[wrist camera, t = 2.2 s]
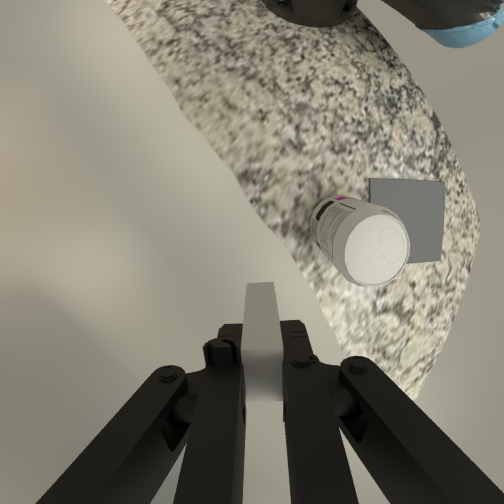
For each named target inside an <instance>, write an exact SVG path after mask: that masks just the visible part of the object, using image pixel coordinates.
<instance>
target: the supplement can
mask: <svg viewBox="0 0 504 504" xmlns="http://www.w3.org/2000/svg"><path fill="white" fill-rule="evenodd" d="M310 232H311V234H312V237H313V239H314V241H315V243H316V244H317V245H318V246H319V247H320V249H321V250H322V251H323V252H324V253H325V255H326V256H327V257H328V258H329V260H330V261H331V262H332V263H333V264H334V266H335V267H336V268H337V269H338V271H339V272H340V273H341V274H342V275H343V276H344V277H345V278H346V280H347V281H349V282H351V283H353V284H355V285H357V286H364V287H378V286H381V285H385V284H388V283H389V282H391V281H392V280H393V279H395V278H396V277H398V275H399V274H400V273H401V271H402V270H403V269H404V267H405V265H406V262H407V260H408V257H409V250H410V241H409V238H408V234H407V231H406V229H405V226H404V224H403V222H402V221H401V220H400V218H399V217H398V215H397V214H395V213H394V212H392V211H391V210H389V209H387V208H386V207H382V206H379V205H375V204H372V203H368V202H365V201H361V200H357V199H354V198H350V197H345V196H338V195H337V196H332V197H328V198H326V199H325V200H323V201H322V202H320V203H319V204H318V206H317V207H316V208H315V210H314V211H313V213H312V217H311V220H310Z"/></svg>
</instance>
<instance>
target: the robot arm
mask: <svg viewBox="0 0 504 504" xmlns="http://www.w3.org/2000/svg"><path fill="white" fill-rule="evenodd" d="M263 1H264V3H265V4H266V6H267V7H268V8H269V9H270V10H271V11H273V12H274V13H275V14H277V15H278V16H280V17H282V18H284V19H286V20H288V21H290V22H293V23H296V24H300V25H304V26H310V27H328V26H333V25H337V24H340V23H342V22H344V21H345V20H347V19H348V18H349V17H350V16H351V14H352V12H353V11H354V9H355V7H356V5H357V1H358V0H263ZM382 1H384V2H385V3H386V4H388V5H389V6H391V7H392V8H394V9H395V10H397V11H398V12H400V13H401V14H402V15H403V16H405V17H406V18H407V19H409V20H410V21H411V22H413V23H414V24H415V26H416V27H417V28H418V29H420V30H421V31H424V32H426V33H427V34H428V35H430V36H431V37H432V38H433V39H435V40H436V41H437V42H438V43H440V44H441V45H443V46H446V47H451V48H464V47H468V46H471V45H474V44H476V43H479V42H481V41H483V40H484V39H486V38H488V37H489V36H491V35H492V34H493V33H494V29H497V28H499V27H500V26H501V25H502V23H503V21H504V11H503V9H502V6H501V5H500V4H502V3H503V2H504V0H382ZM203 351H204V357H205V363H206V367H205V368H204V369H202V370H200V371H197V372H192V373H187V374H185V371H184V370H183V369H182V368H181V367H178V366H174V365H168V366H163V367H160V368H158V369H156V370H155V371H154V372H153V373H152V374H151V375H150V376H149V377H148V379H147V380H146V381H145V382H144V383H143V384H142V385H141V386H140V388H139V389H138V390H137V391H136V392H135V393H134V394H133V395H132V397H131V398H130V399H129V400H128V401H127V402H126V403H125V404H124V406H123V407H122V408H121V409H120V410H119V411H118V412H117V413H116V415H115V416H114V417H113V418H112V419H111V420H110V421H109V422H108V424H107V425H106V426H105V427H104V428H103V429H102V430H101V431H100V433H99V434H98V435H97V436H96V437H95V438H94V439H93V440H92V442H91V443H90V444H89V445H88V446H87V447H86V448H85V449H84V451H83V452H82V453H81V454H80V455H79V456H78V457H77V458H76V459H75V461H74V462H73V463H72V464H71V465H70V466H69V467H68V468H67V469H66V471H65V472H64V473H63V474H62V475H61V476H60V477H59V479H57V481H56V482H55V483H54V484H53V485H52V486H51V487H50V488H49V490H48V491H47V492H46V493H45V494H44V495H43V496H42V497H41V498H40V499H39V501H38V502H37V503H36V504H150V503H151V501H152V499H153V498H154V496H155V495H156V493H157V491H158V489H159V488H160V487H161V485H162V483H163V481H164V480H165V478H166V477H167V475H168V473H169V472H170V470H171V468H172V467H173V465H174V463H175V462H176V460H177V458H178V457H179V455H180V453H181V452H182V450H183V448H184V447H185V445H186V443H187V445H186V449H185V453H184V458H183V463H182V466H181V471H180V475H179V479H178V484H177V489H176V493H175V498H174V502H173V504H242V499H243V476H244V454H245V431H246V430H245V429H246V405H245V402H270V401H283V422H285V435H286V446H287V457H288V469H289V483H290V495H291V504H359V503H358V499H357V495H356V491H355V487H354V483H353V479H352V475H351V471H350V467H349V463H348V460H347V456H346V452H345V448H344V445H343V441H342V437H341V434H340V430H339V428H340V429H341V431H342V432H343V434H344V435H345V437H346V439H347V440H348V442H349V443H350V445H351V446H352V448H353V449H354V451H355V452H356V454H357V455H358V457H359V458H360V460H361V461H362V463H363V464H364V466H365V467H366V469H367V470H368V472H369V473H370V474H371V476H372V478H373V479H374V480H375V482H376V483H377V485H378V486H379V488H380V489H381V491H382V492H383V494H384V495H385V497H386V498H387V499H388V501H389V502H390V504H504V493H503V492H502V491H501V490H500V489H499V488H498V487H497V486H496V485H495V484H494V483H493V482H492V481H491V480H490V479H489V478H488V477H487V476H486V475H485V474H484V473H483V472H482V471H481V470H480V469H479V467H478V466H477V465H476V464H475V463H474V462H473V461H471V459H469V457H468V456H467V455H466V454H465V453H464V452H463V451H462V450H461V449H460V448H459V447H458V446H457V445H456V444H455V443H454V442H453V441H452V440H451V439H450V438H449V437H448V436H447V435H446V434H445V433H444V432H443V431H442V430H441V429H440V428H439V427H438V426H437V425H436V424H435V423H434V422H433V421H432V420H431V419H430V418H429V417H428V416H427V415H426V414H425V413H424V412H423V411H422V410H421V409H420V408H419V407H418V406H417V405H416V404H415V403H414V402H413V401H412V400H411V399H410V398H409V397H408V396H407V395H406V394H405V393H404V392H403V391H402V390H401V389H400V388H399V387H398V386H397V385H396V384H395V383H394V382H393V381H392V380H391V379H390V378H389V377H388V376H387V375H386V374H385V373H384V372H383V371H382V370H381V369H380V368H379V367H378V366H377V365H376V364H375V363H374V362H373V361H371V360H370V359H369V358H366V357H363V356H352V357H348V358H346V359H344V360H343V361H342V362H341V365H340V366H337V365H329V364H324V363H322V362H320V361H319V359H318V357H317V356H316V355H314V354H313V351H312V348H311V344H310V341H309V337H308V334H307V331H306V328H305V325H304V324H303V323H302V322H301V321H300V320H287V321H279V314H278V308H277V301H276V294H275V287H274V282H261V283H247V287H246V299H245V309H244V320H243V324H224V325H223V326H222V327H221V328H220V329H219V332H218V337H217V338H215V339H212V340H210V341H208V342H207V343H205V345H204V346H203Z"/></svg>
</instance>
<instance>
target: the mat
mask: <svg viewBox="0 0 504 504" xmlns="http://www.w3.org/2000/svg"><path fill="white" fill-rule="evenodd" d="M369 203H372V204H375V205H379V206H382V207H386V208H387V209H389V210H391V211H392V212H394V213H395V214H397V215H398V217H399V218H400V220H401V221H402V222H403V224H404V226H405V229H406V231H407V234H408V238H409V241H410V250H409V257H408V260H407V262H406V264H409V263H421V262H433V261H440V260H441V251H442V241H443V228H444V210H445V182H436V181H421V180H402V179H374V178H369Z"/></svg>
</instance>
